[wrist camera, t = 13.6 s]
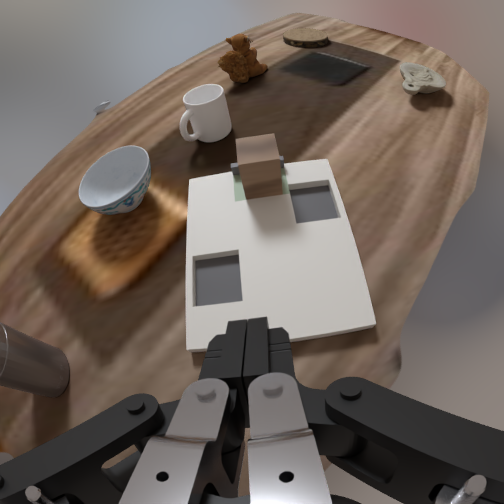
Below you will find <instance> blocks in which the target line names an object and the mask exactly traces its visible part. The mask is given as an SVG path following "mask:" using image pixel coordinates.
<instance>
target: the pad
mask: <svg viewBox="0 0 504 504" xmlns="http://www.w3.org/2000/svg"><path fill="white" fill-rule="evenodd" d="M281 178H282V190H283V194H290V191H289V187H288V182H287V178H286V174H285V169H284V168H281ZM233 181H234V195H235V202H236V201H242V200H246V197H245V193H244V189H243V185H242V180H241V176H240V174H239V175H233Z"/></svg>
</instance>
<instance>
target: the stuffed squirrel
mask: <svg viewBox="0 0 504 504" xmlns="http://www.w3.org/2000/svg"><path fill="white" fill-rule="evenodd" d="M250 40H251V39H250ZM250 40H249V37H248V36H246V35H244V34H237V35H235V36H233V37H232V38H226V41H227V42H228V43H229V44H231V45H232V47H233V50H234V51H229V52H226V53H227V54H225V55H224V56H222V57H221V58H220V60H219V61H218V62H217V63H218V64H219V65H220V66H218V67H221V68H222V70H223V71H225V72H227V73H228V74H229V76H230V79H231V80H232V81H234V82H240V83H244V82H245V83H246V82H247V81H248V78H250V77H254V76H258V75H261V74H262V73H264V72H265V71H266V69H267V65H266V64H260V63H259V62H258V61H257V59H256V57H257V51H256V49H255V48H253V47H252V48H250V43H251V41H252V40H251V41H250ZM249 41H250V43H249ZM252 42H253V41H252ZM249 48H250V49H249Z"/></svg>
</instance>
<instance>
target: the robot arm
mask: <svg viewBox="0 0 504 504" xmlns="http://www.w3.org/2000/svg"><path fill="white" fill-rule="evenodd" d="M68 381H69V364H68V361H67V358H66V356H65V354H64V353H63V352H62V351H61V350H60V349H59V348H56V347H54V346H51V345H49V344H47V343H44V342H42V341H40V340H37V339H35V338H33V337H30V336H28V335H26V334H24V333H22V332H19V331H17V330H15V329H13V328H11V327H9V326H7V325H5V324H3V323H1V322H0V385H1V386H4V387H8V388H12V389H16V390H20V391H24V392H28V393H33V394H37V395H42V396H47V397H57V396H59V395H61V394H62V393H63V392H64V390H65V389H66V387H67V384H68ZM245 428H250V434H251V439H248V462H249V481H250V495H246V496H242V497H238V486H239V480H240V474H241V468H242V463H243V457H244V451H245V441H244V434H245ZM133 444H134V445H135V446H136V448H137V449H138V451H136V452H135V453H133V454H132V455H130V456H129V457H127V458H125V459H124V460H122V461H121V462H119V463H117V464H116V465H114V466H112V467H111V468H107V469H104V468H101V467H102V465H103V464H104V463H105V462H106V461H108V460H109V459H111V458H113V457H114V456H116V455H117V454H119V453H121V452H122V451H124V450H125V449H127V448H129V447H130V446H132V445H133ZM319 455H326V457H327V459H328V460H329V461H330V462H331V463H333V464H335V465H336V466H338V467H339V468H341V469H343V470H344V471H346V472H347V473H349V474H351V475H352V476H354V477H356V478H357V479H359V480H361V481H363V482H365V483H366V484H368V485H370V486H372V487H373V488H375V489H377V490H379V491H380V492H382V493H384V494H386V495H388V496H390V497H392V498H394V499H396V500H397V501H399V502H401V503H404V504H504V431H501V430H498V429H495V428H492V427H488V426H485V425H482V424H479V423H476V422H473V421H470V420H467V419H465V418H462V417H459V416H456V415H453V414H450V413H448V412H445V411H442V410H439V409H437V408H434V407H432V406H429V405H426V404H424V403H421V402H419V401H416V400H414V399H411V398H409V397H406V396H403V395H401V394H399V393H396V392H394V391H392V390H389V389H387V388H384V387H382V386H380V385H377V384H375V383H373V382H370V381H368V380H366V379H363V378H359V377H345V378H341V379H338V380H336V381H334V382H333V383H331V384H330V385H329V386H328V387H327V389H326V390H319V389H312V388H308V387H305V386H303V385H302V384H300V383H299V382H298V381H297V379H296V377H295V372H294V365H293V359H292V352H291V345H290V339H289V333H288V332H287V331H286V330H285V329H284V328H283V327H279V328H271V329H269V324H268V318H267V316H266V317H259V318H251V319H248V320H247V319H243V320H234V321H228V324H227V329H226V333H225V334H219V335H216V336H215V337H214V338H213V339H212V340H211V341H210V342H209V344H208V347H207V352H206V354H205V359H204V361H203V365H202V368H201V372H200V375H199V379H198V381H196V382H194V383H192V384H191V385H189V386H188V387H187V388H186V389H185V391H184V393H183V395H182V398H181V399H180V400H176V401H173V402H168V403H164V404H158V401H157V400H156V398H155V397H153V396H152V395H149V394H135V395H132V396H129V397H127V398H125V399H124V400H122V401H120V402H119V403H117V404H115V405H113V406H112V407H110V408H108V409H107V410H105V411H103V412H101V413H100V414H98V415H96V416H94V417H92V418H91V419H89V420H87V421H85V422H84V423H82V424H80V425H78V426H76V427H74V428H73V429H71V430H69V431H67V432H65V433H63V434H61V435H60V436H58V437H56V438H54V439H52V440H50V441H48V442H46V443H44V444H42V445H40V446H38V447H36V448H34V449H32V450H30V451H28V452H26V453H24V454H22V455H20V456H18V457H16V458H14V459H12V460H10V461H8V462H6V463H4V464H2V465H0V504H361V503H359V502H356V501H354V500H352V499H349V498H345V497H342V496H337V495H331V494H330V493H329V489H328V486H327V482H326V478H325V475H324V471H323V467H322V463H321V460H320V456H319Z"/></svg>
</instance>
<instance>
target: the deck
mask: <svg viewBox="0 0 504 504" xmlns="http://www.w3.org/2000/svg"><path fill="white" fill-rule="evenodd" d="M279 157H280V166H281V168H284V169H285V174H286V178H287V182H288V187H289V191H290V194H283V195H276V196H269V197H262V198H255V199H248V200H242V201H236V202H235V195H234V181H233V175H239V174H240V172H239V168H238V163H232V164H231V169H232V172H227V173H222V174H216V175H211V176H205V177H200V178H195V179H190V180H189V196H188V216H187V244H186V346H187V350H188V351H190V352H204V351H207V347H208V344H209V342H210V341H211V340H212V339H213V338H214V337H215V336H216V335H219V334H225V333H226V329H227V324H228V321H234V320H243V319H247V320H248V319H251V318H259V317H266V316H267V318H268V324H269V329H271V328H279V327H283V328H284V329H285V330H286V331H287V332H288V333H289V339H290V342H295V341H302V340H308V339H315V338H321V337H327V336H332V335H338V334H343V333H349V332H354V331H359V330H364V329H369V328H373V327H374V326H375V325H376V321H375V316H374V312H373V308H372V303H371V299H370V295H369V291H368V287H367V283H366V279H365V276H364V272H363V268H362V265H361V261H360V257H359V254H358V250H357V247H356V243H355V240H354V237H353V233H352V230H351V227H350V224H349V221H348V217H347V214H346V211H345V208H344V205H343V202H342V199H341V196H340V193H339V190H338V187H337V185H336V182H335V179H334V176H333V173H332V171H331V168H330V165H329V163H328V160H327V159H321V160H312V161H303V162H295V163H287V164H284V159H283V156H279Z"/></svg>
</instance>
